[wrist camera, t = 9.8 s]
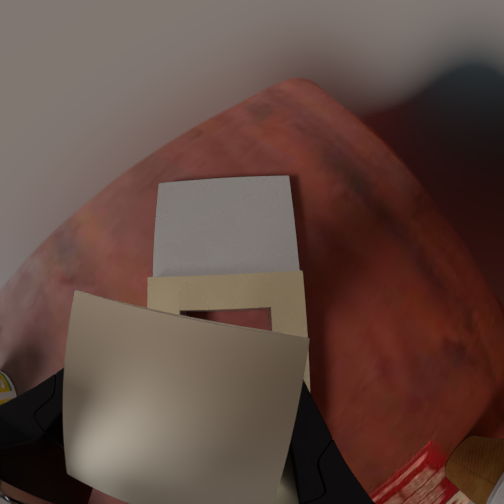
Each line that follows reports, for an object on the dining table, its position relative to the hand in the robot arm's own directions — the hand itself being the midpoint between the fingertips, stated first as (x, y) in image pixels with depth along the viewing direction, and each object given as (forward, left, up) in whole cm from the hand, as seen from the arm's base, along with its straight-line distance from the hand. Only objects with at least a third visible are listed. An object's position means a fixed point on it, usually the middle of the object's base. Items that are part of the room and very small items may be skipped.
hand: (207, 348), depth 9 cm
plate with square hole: (-1, +1, -13) cm, 14 cm away
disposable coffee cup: (-29, -15, -14) cm, 36 cm away
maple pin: (-1, +1, -7) cm, 7 cm away
